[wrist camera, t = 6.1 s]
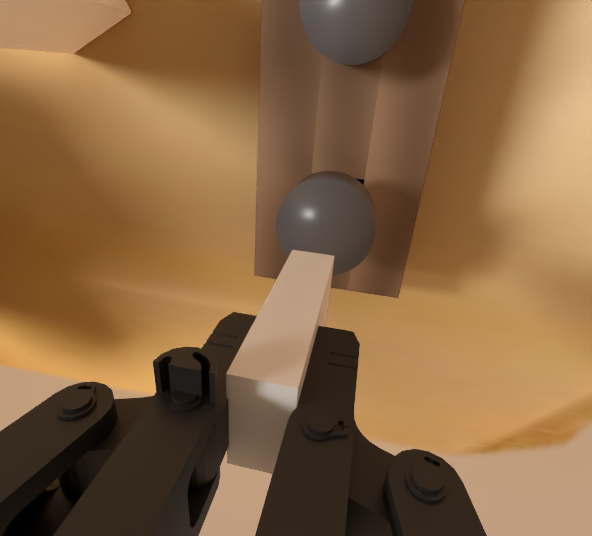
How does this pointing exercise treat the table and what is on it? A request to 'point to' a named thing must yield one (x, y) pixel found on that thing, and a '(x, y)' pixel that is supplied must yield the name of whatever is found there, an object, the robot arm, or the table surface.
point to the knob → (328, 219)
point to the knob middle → (354, 27)
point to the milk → (57, 23)
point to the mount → (351, 130)
